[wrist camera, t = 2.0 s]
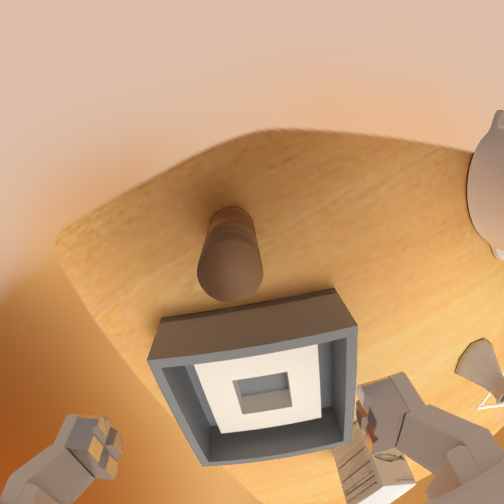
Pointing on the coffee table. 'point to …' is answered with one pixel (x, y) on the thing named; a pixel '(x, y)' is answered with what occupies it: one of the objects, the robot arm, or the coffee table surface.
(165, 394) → the bin
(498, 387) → the flask
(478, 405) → the photo frame
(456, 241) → the coffee table surface
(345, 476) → the supplement box
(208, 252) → the peg
